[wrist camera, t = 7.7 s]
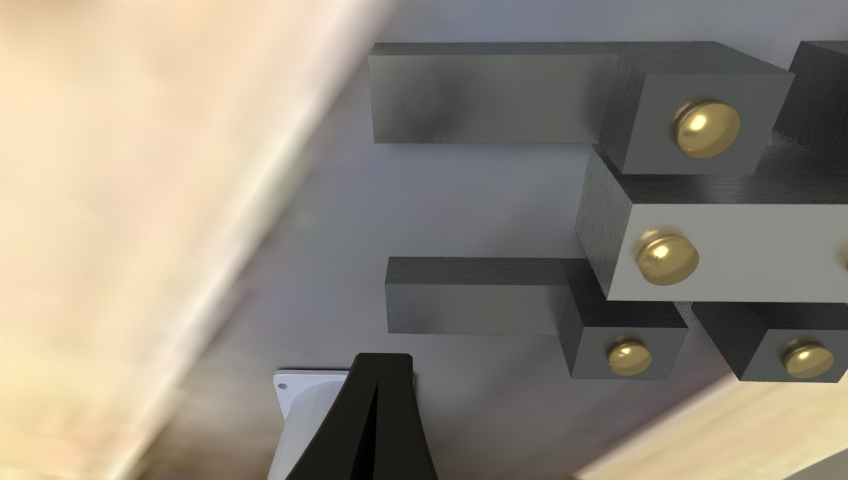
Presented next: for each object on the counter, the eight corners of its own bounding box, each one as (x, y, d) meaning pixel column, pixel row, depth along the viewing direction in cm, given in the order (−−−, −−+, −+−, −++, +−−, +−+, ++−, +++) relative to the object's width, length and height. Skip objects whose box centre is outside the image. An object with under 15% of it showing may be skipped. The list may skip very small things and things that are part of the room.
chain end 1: (630, 307, 23) (670, 387, 19) (392, 304, 24) (382, 382, 20) (714, 41, 16) (805, 77, 12) (375, 43, 17) (354, 79, 13)
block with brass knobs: (800, 228, 21) (902, 312, 16) (574, 227, 21) (611, 309, 16) (844, 143, 18) (977, 213, 14) (590, 143, 19) (638, 211, 14)
